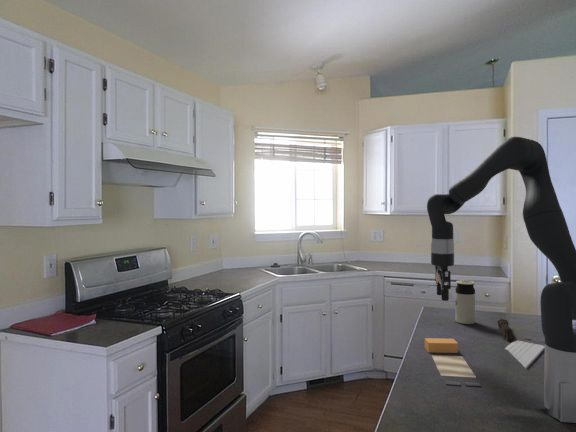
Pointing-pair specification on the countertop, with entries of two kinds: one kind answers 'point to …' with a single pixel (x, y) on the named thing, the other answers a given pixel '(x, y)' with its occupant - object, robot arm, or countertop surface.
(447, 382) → the charcoal stick
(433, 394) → the countertop surface
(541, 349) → the baseboard
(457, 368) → the plywood board
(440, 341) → the block
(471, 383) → the charcoal stick
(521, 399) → the countertop surface
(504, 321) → the brown pointed piece
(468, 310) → the travel mug
